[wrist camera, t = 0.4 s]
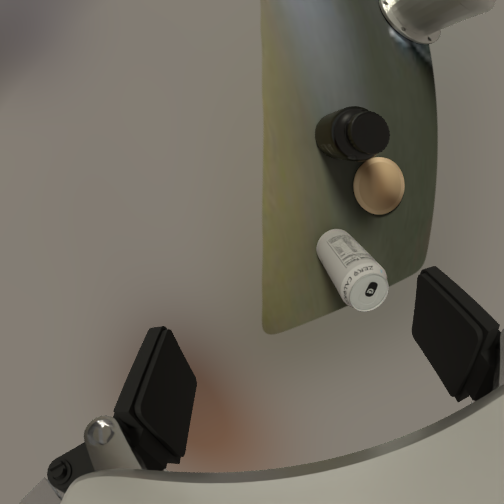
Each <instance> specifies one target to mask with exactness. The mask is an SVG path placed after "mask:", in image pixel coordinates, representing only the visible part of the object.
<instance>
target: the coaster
mask: <svg viewBox="0 0 504 504" xmlns="http://www.w3.org/2000/svg"><path fill="white" fill-rule="evenodd" d="M404 186H405V185H404V177H403V174H402V172H401V170H400V168H399V167H398V166H397V165H396V164H395V163H394V162H393V161H391V160H389V159H387V158H383V157H374V158H371V159H369V160H367V161H365V162H364V163H363V164H362V165H361V166H360V167H359V168H358V170H357V172H356V174H355V177H354V182H353V189H354V195H355V198H356V200H357V202H358V203H359V205H360V206H361V207H362V208H363V209H365V210H366V211H368V212H370V213H372V214H377V215H381V214H386V213H388V212H390V211H392V210H393V209H395V208H396V207H397V205H398V204H399V203H400V201H401V199H402V197H403V193H404Z"/></svg>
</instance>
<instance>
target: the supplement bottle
mask: <svg viewBox="0 0 504 504" xmlns="http://www.w3.org/2000/svg"><path fill="white" fill-rule="evenodd" d="M389 136H390V134H389V128H388V126H387V123H386V122H385V120H384V119H383V118H382V117H381V116H379V115H378V114H376V113H375V112H371V111H368V110H367V109H365V108H362V107H357V106H351V107H346V108H344V109H341V110H338V111H336V112H333V113H331V114H328V115H326V116H325V117H323V118H322V119H321V120H320V121H319V123H318V124H317V127H316V130H315V138H316V142H317V144H318V146H319V148H320V149H321V151H322V152H323V153H325V154H326V155H328V156H329V157H332V158H336V159H342V160H349V161H356V162H362V161H367V160H369V159H371V158H373V157H374V156H375V155H376V154H378V153H379V152H382V150H384V149H385V147H387V144H388V142H389Z"/></svg>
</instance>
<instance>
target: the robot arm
mask: <svg viewBox="0 0 504 504" xmlns="http://www.w3.org/2000/svg"><path fill="white" fill-rule="evenodd" d="M495 1H496V0H379V5H380V8H381V11H382V13H383V15H384V16H385V18H386V19H387V21H388V22H389V23H390V25H391V26H392V27H393V28H394V29H395V30H396V31H398V32H399V33H400V34H401V35H403V36H404V37H406V38H407V39H409V40H411V41H413V42H416V43H418V44H431V43H433V42H435V41H437V40H438V38H439V36H440V32H441V29H444V28H446V27H448V26H451V25H453V24H456V23H458V22H461V21H463V20H466V19H469V18H471V17H474V16H477V15H480V14H483V13H485V12H488V11H490V10H491V9H492V8H493V7H494V5H495ZM499 326H500V325H499V324H498V323H497V322H496V321H495V320H494V319H493V318H492V317H491V316H490V315H489V314H488V313H487V312H486V311H485V310H484V309H483V308H482V307H481V306H480V305H479V304H478V303H477V302H476V301H475V300H474V299H473V298H471V297H470V296H469V295H468V294H467V293H466V292H465V291H464V290H463V289H461V288H460V287H459V286H458V285H457V284H456V283H455V282H454V281H452V280H451V279H450V278H449V277H448V276H447V275H445V274H444V273H443V272H442V271H441V270H439V269H438V268H437V267H436V266H433V267H430V268H427V269H424V270H422V271H421V273H420V275H418V278H417V290H416V300H415V309H414V317H413V325H412V335H413V337H414V339H415V341H416V342H417V344H418V345H419V346H420V348H421V350H422V351H423V353H424V354H425V356H426V357H427V359H428V360H429V362H430V363H431V365H432V366H433V368H434V370H435V371H436V373H437V374H438V376H439V377H440V379H441V381H442V382H443V384H444V386H445V387H446V389H447V390H448V392H449V394H450V395H451V396H452V397H454V396H455V398H456V400H457V401H458V402H460V401H461V400H463V399H465V398H467V397H469V395H470V397H471V398H472V403H471V404H470V405H468V406H466V407H465V408H463V409H461V410H459V411H457V412H455V413H454V414H452V415H450V416H448V417H446V418H444V419H442V420H440V421H438V422H436V423H434V424H432V425H429V426H427V427H425V428H422V429H420V430H418V431H415V432H413V433H411V434H408V435H406V436H403V437H401V438H398V439H395V440H393V441H390V442H387V443H384V444H381V445H378V446H375V447H372V448H369V449H366V450H362V451H359V452H356V453H352V454H348V455H345V456H341V457H337V458H333V459H328V460H324V461H319V462H314V463H309V464H303V465H298V466H291V467H284V468H277V469H269V470H259V471H246V472H227V473H190V472H188V473H187V472H169V471H167V470H166V466H167V463H175V464H179V463H180V458H181V457H183V456H184V454H185V450H186V444H187V438H188V432H189V426H190V420H191V414H192V408H193V403H194V397H195V392H196V387H197V382H196V377H195V375H194V374H193V372H192V370H191V368H190V366H189V364H188V362H187V361H186V359H185V357H184V355H183V353H182V351H181V349H180V347H179V345H178V343H177V341H176V339H175V337H174V335H173V333H172V331H171V330H169V329H168V330H167V328H166V327H164V326H162V327H154V328H150V329H149V330H148V332H147V335H146V337H145V339H144V341H143V343H142V346H141V348H140V350H139V352H138V354H137V357H136V359H135V361H134V363H133V366H132V368H131V370H130V372H129V375H128V377H127V379H126V382H125V384H124V386H123V389H122V391H121V394H120V396H119V399H118V401H117V403H116V406H115V408H114V412H115V413H114V416H113V417H111V416H100V417H98V418H95V419H94V420H92V421H91V422H90V423H89V424H88V425H87V427H86V429H85V431H84V441H85V442H84V443H82V444H81V445H79V446H77V447H76V448H74V449H72V450H70V451H69V452H67V453H65V454H63V455H62V456H60V457H58V458H56V459H55V460H54V461H52V463H51V464H50V465H49V468H48V473H47V476H48V480H47V479H46V478H43V479H42V480H41V481H40V482H39V483H38V484H37V485H36V486H35V487H34V488H33V489H32V490H31V491H30V492H29V493H28V494H27V495H26V496H25V497H24V498H23V499H22V500H21V502H20V504H504V329H503V330H502V332H500V331H499V330H498V329H499Z"/></svg>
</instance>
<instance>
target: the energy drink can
mask: <svg viewBox="0 0 504 504" xmlns="http://www.w3.org/2000/svg"><path fill="white" fill-rule="evenodd" d="M316 250H317V255H318V257H319V259H320V261H321V262H322V264H323V266H324V268H325V269H326V271H327V273H328V275H329V276H330V278H331V280H332V282H333V283H334V285H335V287H336V289H337V291H338V292H339V294H340V296H341V298H342V299H343V301H344V302H345V303H346V304H347V305H348V306H350V307H353V308H355V309H356V310H358V311H362V312H366V311H371V310H373V309H375V308H377V307H378V306H380V305H381V304H382V303H383V301H384V300H385V298H386V296H387V294H388V287H389V286H388V282H387V276H386V273H385V270H384V269H383V268H382V267H381V266H380V265H379V264H378V262H377V261H376V260H375V259H374V258H373V257H372V256H371V255H370V254H369V253H368V252H367V251H366V250H365V249H364V248H363V247H362V246H361V245H360V244H359V243H358V242H357V241H356V240H355V239H354V238H353V237H351V236H350V235H349V234H348V233H347V232H346V231H344V230H341V229H333V230H329V231H327V232H326V233H324V234H323V235H322V236H321V238H320V239H319V241H318V243H317V249H316Z"/></svg>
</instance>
